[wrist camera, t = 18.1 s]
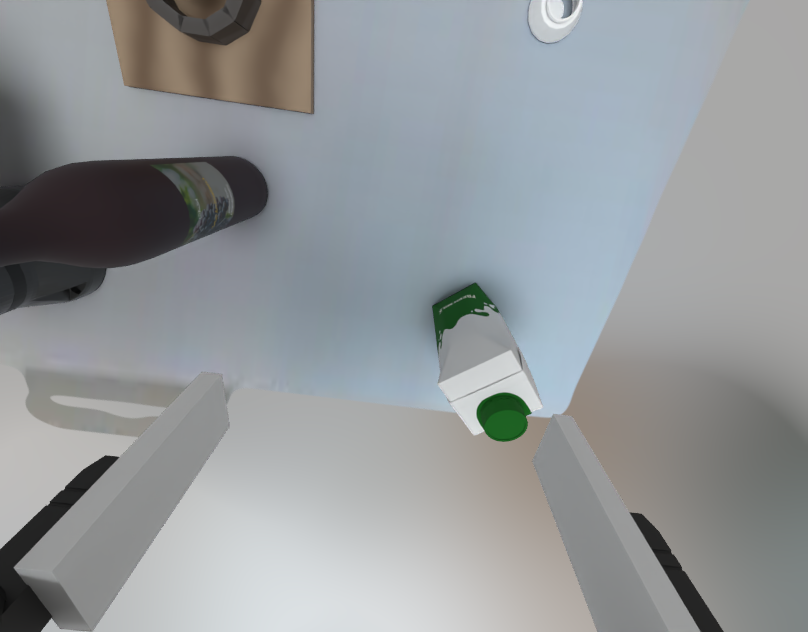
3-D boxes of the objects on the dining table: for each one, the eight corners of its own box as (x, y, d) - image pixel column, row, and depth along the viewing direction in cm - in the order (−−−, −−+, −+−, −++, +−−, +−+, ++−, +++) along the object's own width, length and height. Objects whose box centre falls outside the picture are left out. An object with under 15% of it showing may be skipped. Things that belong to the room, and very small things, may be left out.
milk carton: (452, 349, 50) (474, 458, 32) (422, 303, 47) (428, 396, 29) (505, 322, 48) (560, 425, 30) (478, 272, 44) (521, 353, 27)
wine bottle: (260, 226, 42) (0, 356, 16) (206, 201, 41) (-179, 295, 14) (276, 173, 40) (-13, 223, 13) (217, 144, 38) (-238, 131, 12)
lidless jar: (516, 19, 33) (551, 56, 34) (525, 7, 30) (562, 48, 31) (554, -37, 31) (590, 4, 32) (568, -55, 28) (605, -9, 29)
